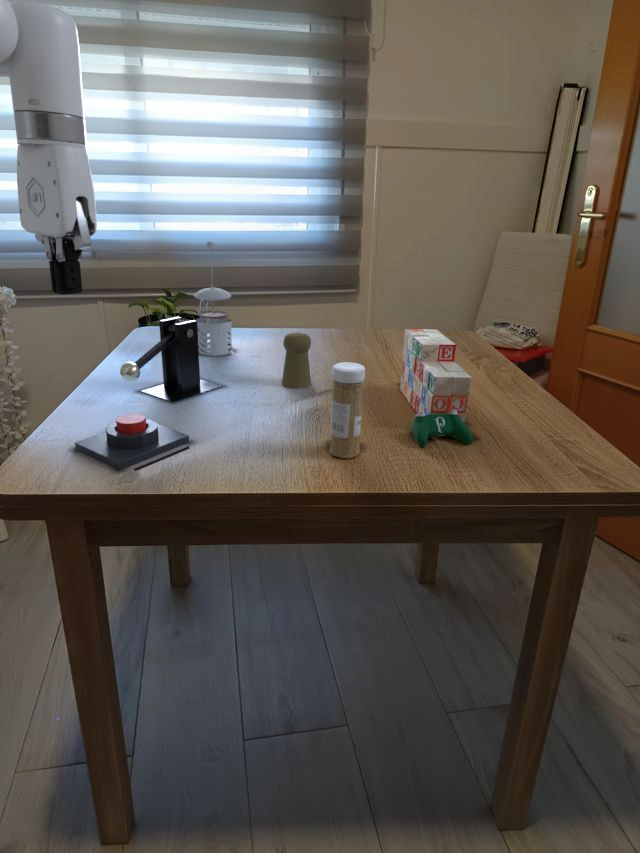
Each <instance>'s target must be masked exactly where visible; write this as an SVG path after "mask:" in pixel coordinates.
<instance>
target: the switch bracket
mask: <svg viewBox="0 0 640 853" xmlns="http://www.w3.org/2000/svg"><path fill="white" fill-rule="evenodd" d="M177 320H180V321H183V317H180V316H174V317H170V318H165V319H160V320H158V323H159V324H158V325H159V338H160V339H159V340H160V341H161V340H162V339H163V338H165V337H166V336H167V335H168V334H169V332H168V330H167V328H168V327H169V326H171V325H172V324H173V323H174V322H175V321H177ZM174 327H175V340H173V341H172V342H171V343H170V344H169V345H168V346H166V347H165V348H164V349H163V350H162V351H161V352H160V354H161V363H162V364H161V366H162V379H163V384H160V385H156V386H152V387H149V388H146V389H142V390H140V391H139V392H140V393H143V394H146V395H149V396H152V397H154V398H157V399H160V400H164V401H167V402H169V403H172V404H175V403H177V402H181V401H184V400H187V399H189V398H192V397H195V396H199V395H201V394H204V393H208V392H211V391H214V390H217V389H221V388H223V385H221V384H218V383H214V382H211V381H208V380H204V379H202V378H201V374H200V373H201V372H200V354H199V348H198V327H197V321H196V320H195V319H193V320H188V321H185V322H182V323H177V324H174Z"/></svg>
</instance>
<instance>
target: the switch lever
mask: <svg viewBox="0 0 640 853" xmlns="http://www.w3.org/2000/svg"><path fill="white" fill-rule="evenodd" d="M182 322H186V320H185V321H184V320H182V321H180V320H177V321H175V322H174V323H173V324H172V325H171V326H169V327H168V328H167V330H168V332H169V334H168V335H167V336H166V337H165V338H163V339H162V340H161V339H160V341H158V342H157V343H156V344H155V345H154V346H152V348H150V349H149V350H148V351H147V352H145V353H144V354H143V355H141V357H139V358H138V359H137V360H136V361H135V362H133V361H127V362H125V363H123V364H122V365H121V367H120V369H119V374H120V376H121V379H123V380H124V381H127V382H134V381H137V380H138V379H139V377H140V376H141V369H142V368H143V367H144V366H145V365H147V364H148V363H149V362H150V361H151V360H153V358H155V357H156V356H157V355H158V354H159V353H161V351H162V350H163V349H164V348H165V347H166V346H168V345H169V344H170V343H171V342H172V341H173V340H175V327H174V324H177V323H182Z"/></svg>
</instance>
